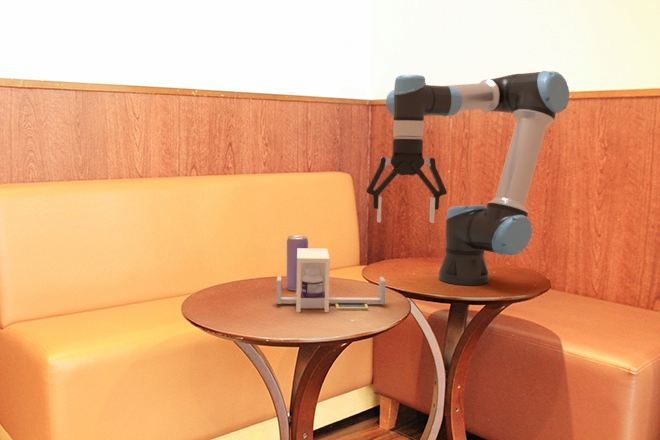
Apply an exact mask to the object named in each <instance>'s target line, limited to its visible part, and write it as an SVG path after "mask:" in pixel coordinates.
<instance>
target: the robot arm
mask: <svg viewBox="0 0 660 440" xmlns="http://www.w3.org/2000/svg"><path fill="white" fill-rule="evenodd" d="M394 80H395V81H394V89H393V90H391V91H390V92H389V93H388V94H387V96H386V99H385V106H386V109H387V112H388V113H389V114H390V115H392V116H393V127H392V128H393V129H392V131H393V132H392V135H393V137H395V138H394V139H393V140H392V155H391V158H390V157H389V158H388V157H384V156H381V157H380V159H379V164H378V167H377V168H376V171H375V172H374V174H373V176H372V178H371V180H370V182H369V184H368V186H367V187H366V193H367V194H369V195H371V196H372V197H373V198H372V207H373V209H374V210H376V221H377V223H382V203H383V202H382V199H383V198H382V197H383V196H381V195H380V194H381V193H382V192H383V191H384V190H385V189H386V187H388V186H389V184H390V183H391V182H392V181H393V180H394V178H395V177H397V175H399V176H407V175H408V176H415V175H417V176H418V178H419V179H420V180H421V181H422V183H423V184H424V185H425V186H426V187H427V189H428V191H430V193H431V194H432V196H430V197H429V219H428V220H429V221H428V222H429V223H431V224H435V214H436V213H435V211H437V210H439V208H440V197H441V196H444V195H446V194H447V193H448V192H447V189H446V187H445V184H444V183H443V180H442V178H441V176H440V174H439V171H438V169H437V166H436V159H435V158H434V157H429V158H424V155H423V150H424V140H423V139H422V138H423V137H424V125H425V124H424V123H425V121H424V120H425V117H426V116H427V117H428V116H429V117H430V116H431V117H432V116H434V117H435V116H437V117H438V116H442V117H449V116H451V117H452V116H454V115H457V114H458V112H464V111H465V112H466V111H474V110H475V111H476V110H480V111H482V112H485V113H490V112H491V113H493V112H495V113H496V112H498V113H508V114H513V115H512V116H514V118H515V120H516V121H515V124H514V128H513V132H512V134H511V139H510V143H509V147H508V150H507V152H506V156H505V161H504V165H503V168H502V171H501V174H500V179H499V182H498V185H497V189H496V192H495V196H494V197H493V199H492V200H489V201H488V202H487V205H485V204H477V205H475V204H474V205H473V204H472V205H455V206H450V207H449V208H448V209H447V213H446V219H445V226H446V227H445V251H444V253H445V254H444V257H443V260H442V262H441V265H440V268H439V271H438V280H439V281H442V282H444V283H448V284H452V285H453V284H454V285H461V286H462V285H463V286H476V285H477V286H478V285H485V284H488V283H489V282H490V281H489V280H490V274H489V269H488V266H487V262H486V258H485V251H486V252H489V253H495V254H497V255H501V256H502V255H506V256H515V255H518V254H520V252H522V251H524V250H525V249H526V248H527V246H528V245H529V243H530V241H531V239H532V234H533V228H532V222H531V220H530V219H529V218H528V215H529V211H528V210H527V208H526V203H527V199H528V195H529V190H530V187H531V183H532V179H533V178H534V177H533V176H534V173H535V169H536V166H537V162H538V159H539V155H540V152H541V148H542V144H543V141H544V136H545V134H546V130H547V127H548V126H550V125H551V124H553V123H554V122H555V119H556V114H559V113H562V112H563V111H564V110H565V109H566V108H567V107H568V105H569V101H570V89H569V85H568V83H567V82H568V81H566V79H565V77H564V76H563V75H562V74H561V73H559V72H557V71H554V70H553V71H552V70H551V71H548V70H547V71H546V70H542V71H537V72H527V73H513V74H510V75H505V76H500V77H495V78H488V79H483V80H481V81H480V82H479V83H469V84H454V85H452V84H451V85H432V84H431V85H428V84H427V83H426V78H425V76H423V75H419V74H402V75H398V76H397V77H396V78H395V79H394ZM389 164H391V165H392V167H393V169H392V170H391V171H390V172H389V174H388V175H387V176H386V177H385V178H384V180H382V181H381V183H380V184H378V186H377V187H376V185H377V183H378V181H379V179H380V177H381V175H382V173H383V172H384V171H385V170H384V169H385V168H386V167H387V166H389ZM424 165H426V167H428V168H429V171H430V173H431V175H432V177H433V179H434V182H435V183H436V186H437V188H436V187H435V186H434V185H433V184H432V182H431V181H430V180H429V178H428V177H427V176H426V175H425V173H424V172H423V171H422V169H421V168H422V167H423V166H424ZM375 187H376V188H375ZM374 188H375V189H374ZM437 189H438V190H437ZM487 282H488V283H487Z"/></svg>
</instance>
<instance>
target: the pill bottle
mask: <svg viewBox="0 0 660 440" xmlns="http://www.w3.org/2000/svg"><path fill="white" fill-rule="evenodd" d="M305 274H306V275H305V276H303V278H302V298H323V278H322V276H320V275H319V274H320V267H315V266H310V267H305Z"/></svg>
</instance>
